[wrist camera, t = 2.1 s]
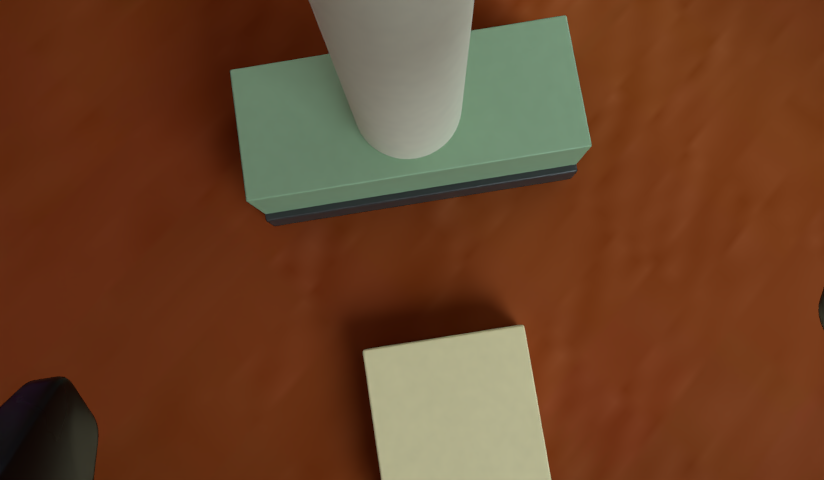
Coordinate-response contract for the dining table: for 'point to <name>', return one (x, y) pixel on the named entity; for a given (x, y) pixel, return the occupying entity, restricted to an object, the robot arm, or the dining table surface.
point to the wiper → (408, 111)
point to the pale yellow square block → (457, 408)
